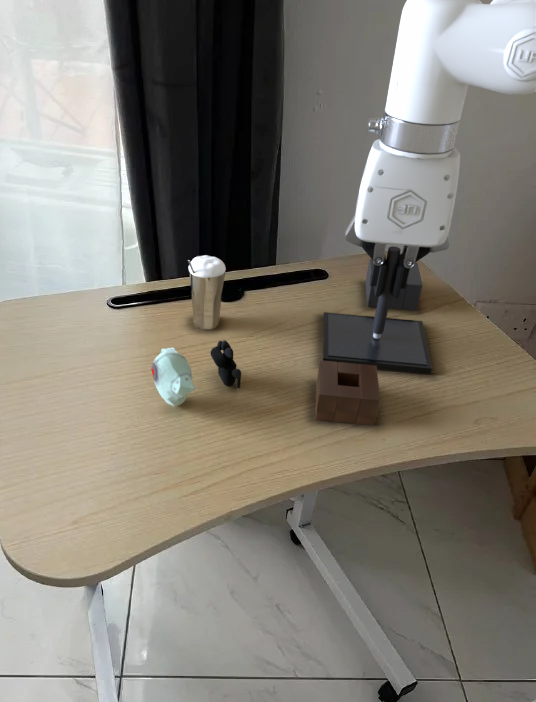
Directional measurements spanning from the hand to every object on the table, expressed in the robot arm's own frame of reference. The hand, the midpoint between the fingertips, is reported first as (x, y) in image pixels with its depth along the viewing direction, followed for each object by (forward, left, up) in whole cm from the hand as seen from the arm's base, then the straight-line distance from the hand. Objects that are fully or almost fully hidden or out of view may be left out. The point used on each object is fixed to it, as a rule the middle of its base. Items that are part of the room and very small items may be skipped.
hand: (385, 291), depth 79 cm
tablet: (0, 0, -8) cm, 8 cm away
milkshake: (+22, -1, -8) cm, 23 cm away
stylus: (0, 0, -7) cm, 7 cm away
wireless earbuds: (+18, +11, -8) cm, 23 cm away
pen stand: (+4, +13, -8) cm, 16 cm away
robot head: (+23, +16, -8) cm, 29 cm away
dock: (-3, -13, -8) cm, 15 cm away
